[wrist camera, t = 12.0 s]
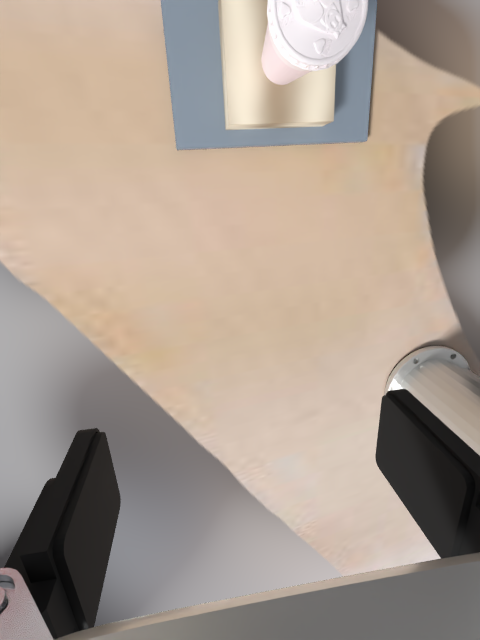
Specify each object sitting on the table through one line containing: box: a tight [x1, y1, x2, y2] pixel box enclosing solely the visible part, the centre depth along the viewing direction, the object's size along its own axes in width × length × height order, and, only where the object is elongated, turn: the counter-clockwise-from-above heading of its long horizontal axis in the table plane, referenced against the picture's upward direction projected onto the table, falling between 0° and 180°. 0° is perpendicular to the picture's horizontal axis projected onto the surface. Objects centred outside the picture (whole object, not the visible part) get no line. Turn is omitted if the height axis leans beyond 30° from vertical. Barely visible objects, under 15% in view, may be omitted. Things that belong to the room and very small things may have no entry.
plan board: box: [161, 0, 377, 150], centre depth 33 cm, size 20×13×1 cm, turn 93°
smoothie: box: [261, 0, 368, 85], centre depth 24 cm, size 6×6×14 cm
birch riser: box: [218, 0, 336, 130], centre depth 32 cm, size 10×10×3 cm
